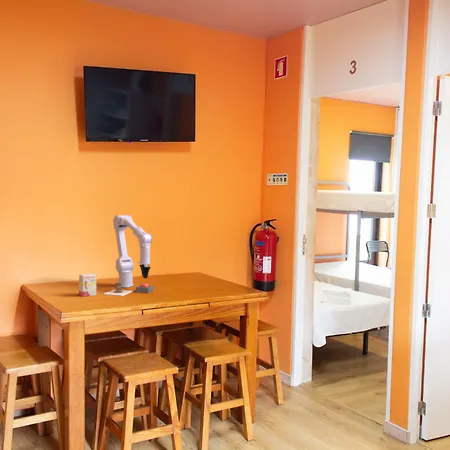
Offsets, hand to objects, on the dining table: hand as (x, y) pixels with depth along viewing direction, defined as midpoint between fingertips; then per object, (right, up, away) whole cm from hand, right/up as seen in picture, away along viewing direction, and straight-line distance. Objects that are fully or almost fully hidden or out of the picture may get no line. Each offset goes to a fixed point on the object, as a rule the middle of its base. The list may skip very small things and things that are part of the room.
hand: (144, 277), depth 320 cm
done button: (0, -6, 0) cm, 6 cm away
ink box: (-30, -9, -14) cm, 34 cm away
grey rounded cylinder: (-14, -8, -6) cm, 18 cm away
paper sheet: (-14, -9, -6) cm, 18 cm away
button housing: (0, -8, +1) cm, 8 cm away
